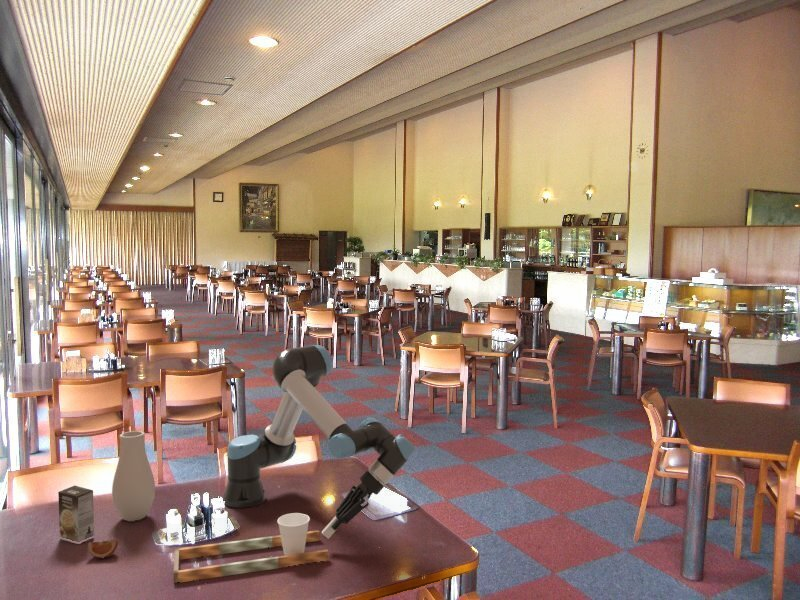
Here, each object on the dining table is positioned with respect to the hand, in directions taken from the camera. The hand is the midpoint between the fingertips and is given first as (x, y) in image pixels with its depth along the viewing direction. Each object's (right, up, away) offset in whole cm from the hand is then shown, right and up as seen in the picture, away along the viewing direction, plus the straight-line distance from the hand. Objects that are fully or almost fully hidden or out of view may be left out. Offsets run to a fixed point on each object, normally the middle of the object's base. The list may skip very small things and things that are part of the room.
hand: (324, 535), depth 202 cm
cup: (-9, -5, -3) cm, 11 cm away
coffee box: (-81, -4, +7) cm, 81 cm away
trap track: (-21, -5, -6) cm, 23 cm away
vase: (-69, -3, +23) cm, 73 cm away
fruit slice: (-67, -5, -4) cm, 67 cm away
